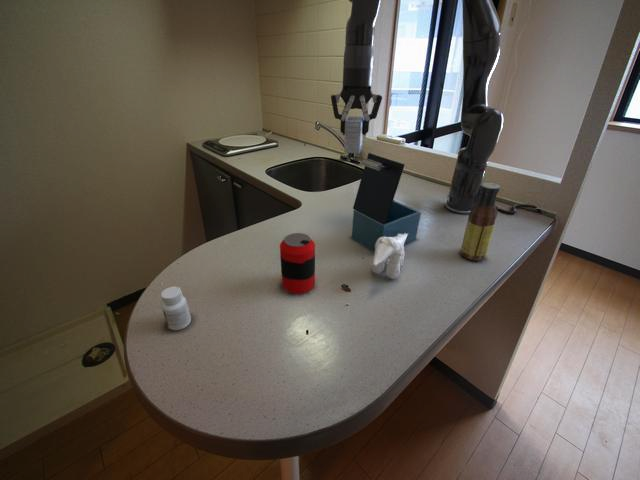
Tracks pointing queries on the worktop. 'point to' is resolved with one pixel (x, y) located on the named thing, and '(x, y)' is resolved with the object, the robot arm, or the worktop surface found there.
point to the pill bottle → (175, 308)
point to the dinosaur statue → (389, 255)
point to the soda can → (297, 263)
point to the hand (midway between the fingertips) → (353, 134)
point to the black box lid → (378, 187)
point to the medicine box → (353, 134)
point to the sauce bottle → (480, 223)
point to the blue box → (386, 225)
